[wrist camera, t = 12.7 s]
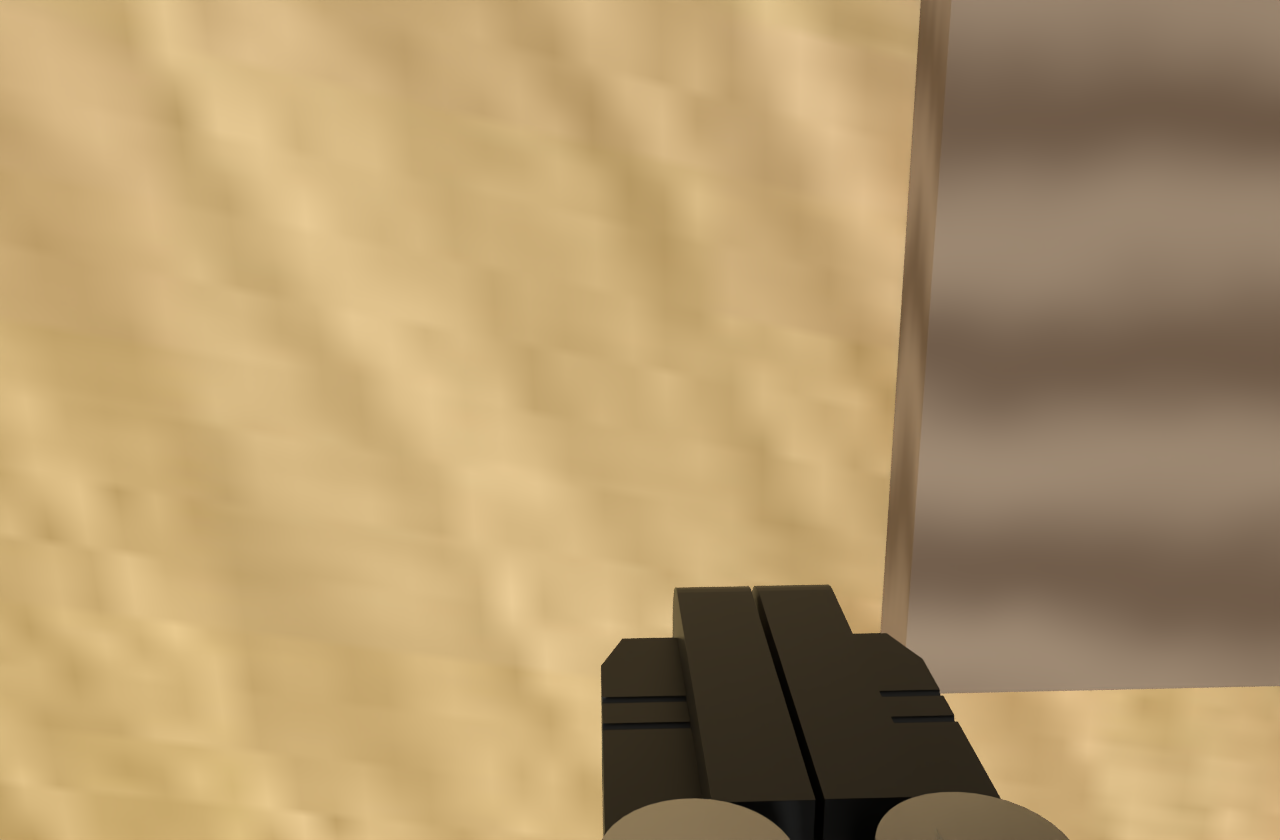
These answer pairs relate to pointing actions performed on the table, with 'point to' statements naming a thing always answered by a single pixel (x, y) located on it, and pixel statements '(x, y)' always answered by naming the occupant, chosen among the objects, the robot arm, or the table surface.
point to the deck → (1090, 348)
